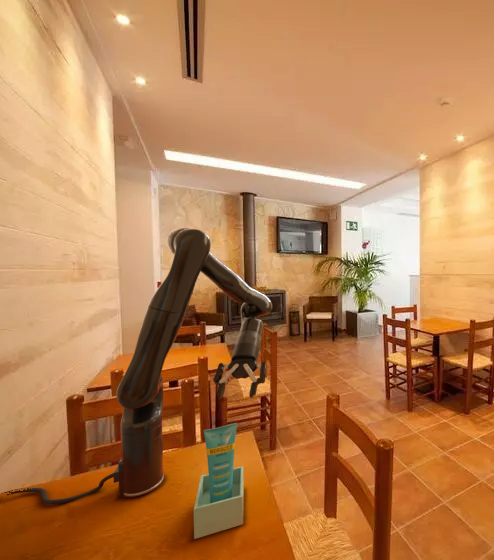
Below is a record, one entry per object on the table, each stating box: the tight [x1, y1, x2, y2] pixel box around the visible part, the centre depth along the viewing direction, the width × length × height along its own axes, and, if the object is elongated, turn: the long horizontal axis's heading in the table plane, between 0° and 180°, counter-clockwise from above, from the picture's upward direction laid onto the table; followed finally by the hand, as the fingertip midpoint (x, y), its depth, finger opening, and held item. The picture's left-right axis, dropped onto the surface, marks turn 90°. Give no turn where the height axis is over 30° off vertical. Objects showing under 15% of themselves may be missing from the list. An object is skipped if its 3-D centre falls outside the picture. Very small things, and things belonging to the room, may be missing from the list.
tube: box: [203, 422, 238, 503], centre depth 76 cm, size 7×5×19 cm, turn 123°
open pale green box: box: [193, 465, 245, 540], centre depth 76 cm, size 10×12×7 cm
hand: (235, 397), depth 87 cm, fingers open, 8 cm apart
